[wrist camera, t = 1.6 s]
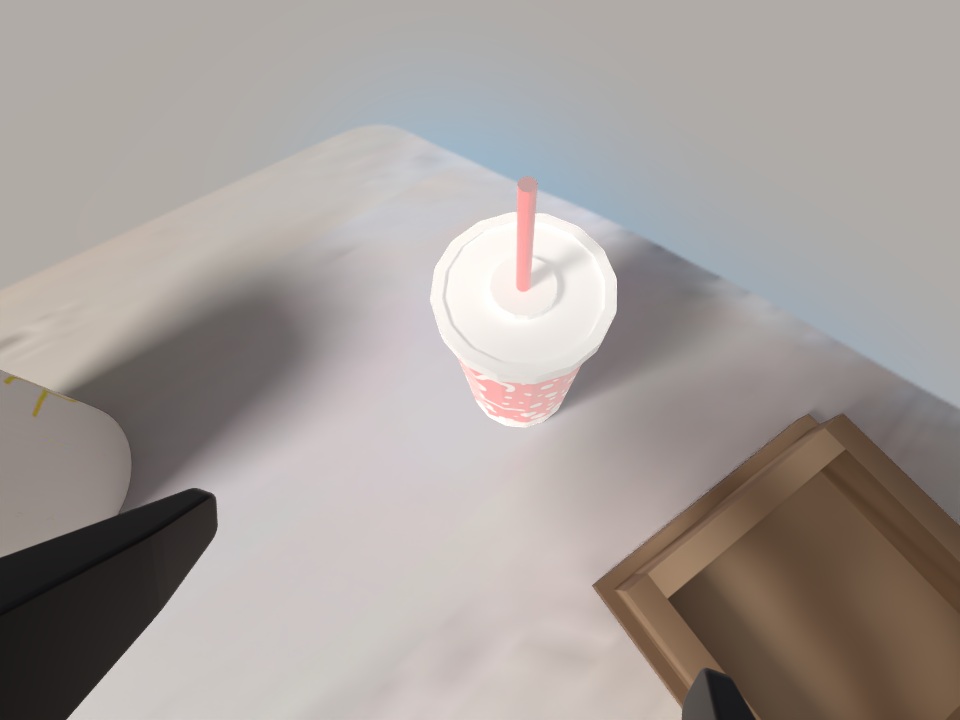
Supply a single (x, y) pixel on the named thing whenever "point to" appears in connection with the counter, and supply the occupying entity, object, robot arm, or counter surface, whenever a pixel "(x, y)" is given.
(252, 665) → the counter surface
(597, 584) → the tray
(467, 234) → the beverage cup
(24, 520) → the grey upright cylinder
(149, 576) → the robot arm
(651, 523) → the counter surface
